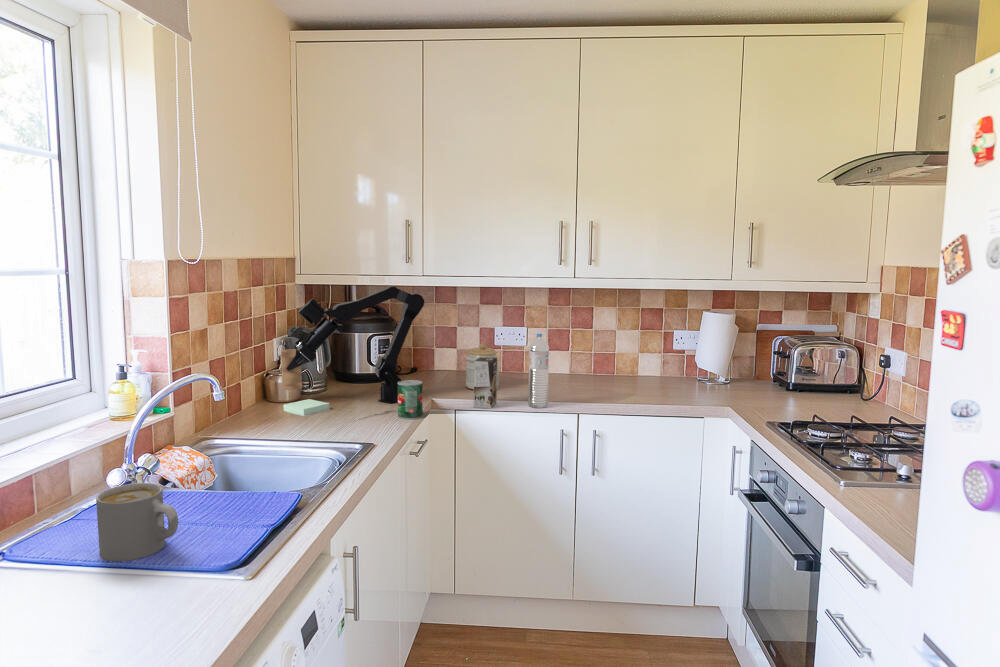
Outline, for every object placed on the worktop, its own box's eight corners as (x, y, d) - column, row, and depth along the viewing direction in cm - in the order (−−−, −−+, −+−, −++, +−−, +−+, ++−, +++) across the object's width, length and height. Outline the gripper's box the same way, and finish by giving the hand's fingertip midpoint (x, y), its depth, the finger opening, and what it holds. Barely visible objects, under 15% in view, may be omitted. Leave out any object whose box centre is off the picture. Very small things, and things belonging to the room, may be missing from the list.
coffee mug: (85, 555, 111) (81, 498, 110) (136, 532, 120) (133, 479, 119) (145, 569, 106) (142, 510, 105) (193, 544, 116) (190, 489, 115)
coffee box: (491, 408, 220) (492, 361, 218) (473, 407, 221) (473, 360, 220) (497, 402, 229) (497, 357, 227) (479, 401, 230) (479, 356, 228)
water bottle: (541, 409, 220) (543, 335, 217) (524, 406, 224) (525, 334, 221) (551, 405, 226) (552, 333, 223) (534, 402, 230) (535, 332, 227)
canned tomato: (427, 416, 208) (427, 382, 207) (406, 420, 203) (406, 385, 202) (413, 412, 214) (413, 379, 213) (392, 415, 209) (392, 381, 208)
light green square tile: (331, 415, 211) (331, 409, 211) (303, 422, 202) (303, 416, 202) (309, 410, 217) (309, 404, 217) (281, 417, 208) (281, 411, 208)
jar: (467, 384, 261) (467, 340, 259) (499, 385, 260) (500, 341, 258) (464, 391, 248) (464, 345, 246) (498, 391, 248) (499, 345, 245)
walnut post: (300, 385, 221) (299, 348, 220) (302, 388, 216) (300, 351, 214) (282, 386, 219) (280, 349, 218) (282, 390, 213) (281, 352, 212)
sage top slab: (329, 409, 211) (329, 403, 211) (303, 415, 203) (303, 409, 203) (309, 404, 217) (309, 399, 216) (283, 410, 209) (283, 404, 208)
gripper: (300, 314, 225) (267, 347, 222) (304, 319, 207) (268, 356, 205) (324, 336, 228) (292, 369, 226) (330, 343, 211) (295, 379, 208)
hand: (286, 368), depth 216 cm, fingers closed on walnut post, 6 cm apart
